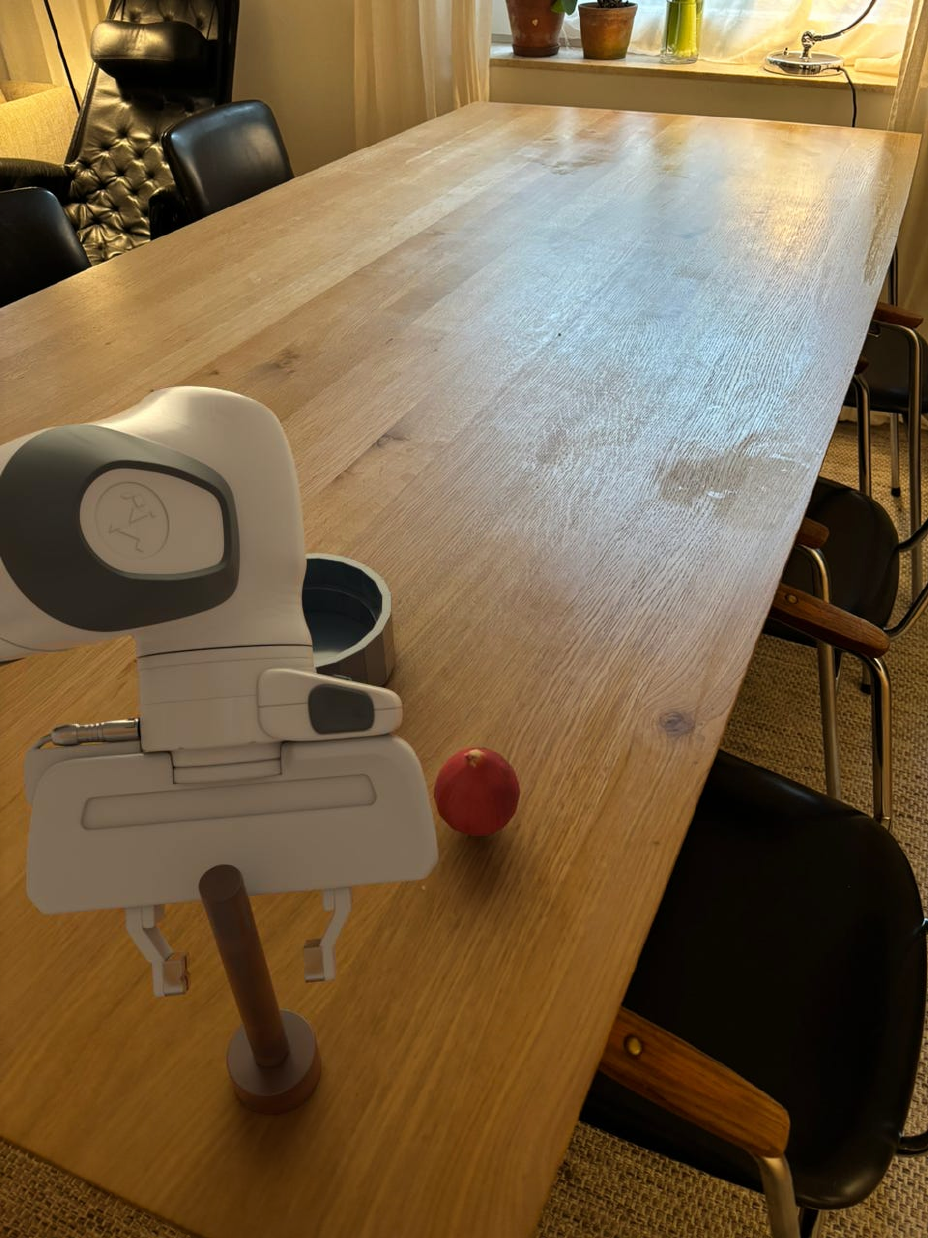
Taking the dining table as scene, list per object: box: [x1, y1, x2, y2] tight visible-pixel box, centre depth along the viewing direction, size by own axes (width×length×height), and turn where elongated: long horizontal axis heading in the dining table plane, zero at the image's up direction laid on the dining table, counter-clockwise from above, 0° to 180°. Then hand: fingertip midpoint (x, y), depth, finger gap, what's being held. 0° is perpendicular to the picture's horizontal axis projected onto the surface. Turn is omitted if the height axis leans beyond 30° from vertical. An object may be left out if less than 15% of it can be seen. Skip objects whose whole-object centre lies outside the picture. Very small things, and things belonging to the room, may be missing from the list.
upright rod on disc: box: [198, 864, 322, 1115], centre depth 51 cm, size 5×5×18 cm
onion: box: [433, 747, 521, 837], centre depth 67 cm, size 6×6×8 cm
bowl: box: [302, 552, 397, 688], centre depth 81 cm, size 15×15×6 cm
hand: (247, 986), depth 50 cm, fingers open, 6 cm apart
